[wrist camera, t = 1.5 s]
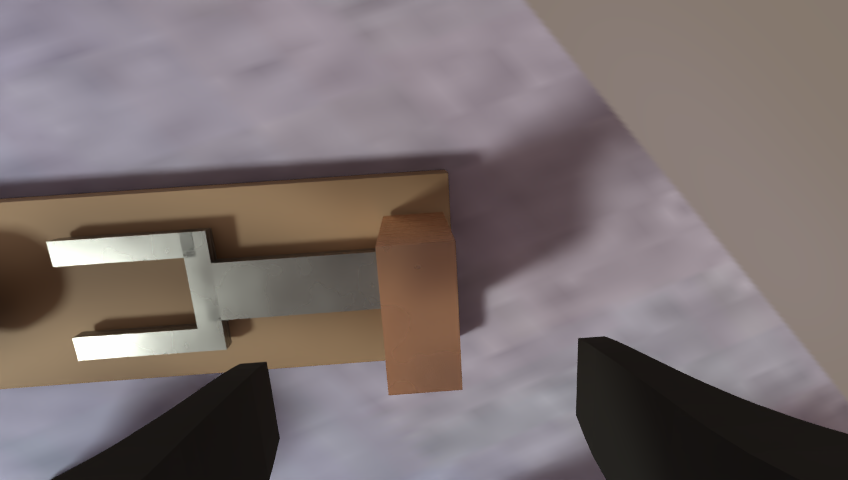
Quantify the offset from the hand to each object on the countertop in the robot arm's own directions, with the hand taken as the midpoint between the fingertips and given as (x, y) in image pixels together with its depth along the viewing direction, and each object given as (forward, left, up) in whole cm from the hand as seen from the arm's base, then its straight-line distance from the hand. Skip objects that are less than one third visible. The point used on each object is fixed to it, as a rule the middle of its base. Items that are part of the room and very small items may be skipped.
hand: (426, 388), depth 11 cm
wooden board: (0, +9, -11) cm, 14 cm away
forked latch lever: (0, +6, -9) cm, 11 cm away
